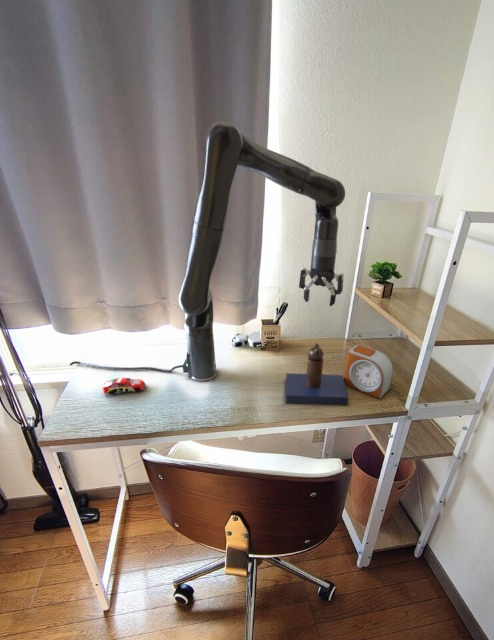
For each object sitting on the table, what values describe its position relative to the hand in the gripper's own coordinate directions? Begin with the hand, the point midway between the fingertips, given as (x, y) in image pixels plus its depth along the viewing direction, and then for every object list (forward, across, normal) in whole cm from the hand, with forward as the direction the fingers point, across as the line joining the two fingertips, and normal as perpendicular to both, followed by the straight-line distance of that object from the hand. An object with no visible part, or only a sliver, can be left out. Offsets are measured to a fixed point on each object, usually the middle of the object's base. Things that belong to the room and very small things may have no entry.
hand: (319, 303), depth 125 cm
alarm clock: (+26, +20, -3) cm, 33 cm away
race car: (+26, -54, -40) cm, 72 cm away
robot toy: (+26, -30, +9) cm, 41 cm away
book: (+26, +5, -14) cm, 30 cm away
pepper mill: (+23, +4, -14) cm, 28 cm away
